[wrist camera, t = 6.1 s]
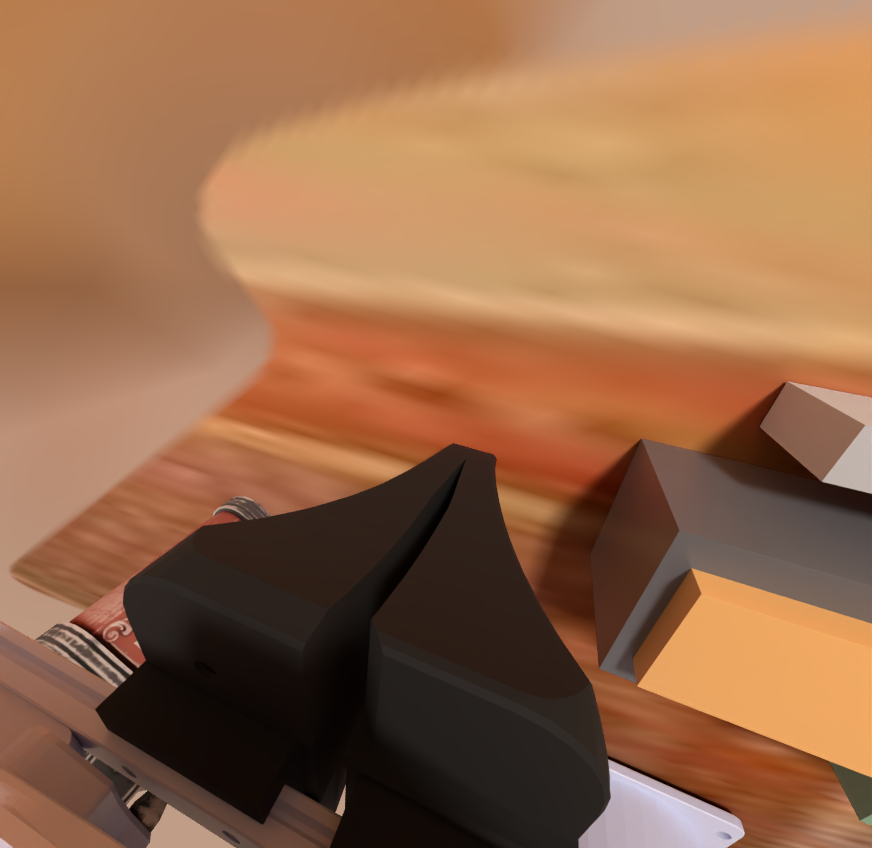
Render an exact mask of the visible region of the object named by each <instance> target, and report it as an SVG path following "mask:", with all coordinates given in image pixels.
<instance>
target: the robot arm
mask: <svg viewBox="0 0 872 848" xmlns="http://www.w3.org/2000/svg"><path fill="white" fill-rule="evenodd" d="M496 460H497V459H496V457H495V456H494V455H493V454H489V453H486V452H482V451H479V450H475V449H472V448H468V447H465V446H461V445H457V444H454V443H453V444H451V445H449V446H447V447H446V448H444V449H443V450H441V451H440V452H438V453H436V454H435V455H433V456H432V457H430V458H429V459H427V460H425V461H424V462H422V463H420V464H419V465H417V466H415V467H413V468H412V469H410V470H408V471H406V472H405V473H403V474H401V475H399V476H397V477H395V478H393V479H391V480H389V481H387V482H385V483H383V484H380V485H378V486H376V487H373V488H371V489H368V490H366V491H363V492H360V493H358V494H355V495H352V496H349V497H346V498H343V499H339V500H336V501H333V502H329V503H326V504H323V505H319V506H316V507H312V508H308V509H304V510H299V511H295V512H290V513H285V514H280V515H275V516H270V517H264V518H258V519H251V520H244V521H237V522H229V523H222V524H214V525H205V526H202V527H200V528H199V529H197V530H196V531H194V532H193V533H192V534H190V535H189V536H188V537H186V538H185V539H184V540H182V541H181V542H180V543H178V544H177V545H176V546H174V547H173V548H171V549H170V550H169V551H167V552H166V553H165V554H163V555H162V556H161V557H159V558H158V559H157V560H155V561H154V562H152V563H151V564H150V565H148V566H147V567H146V568H144V569H143V570H142V571H140V572H139V573H138V574H136V575H135V576H133V577H132V578H131V579H130V580H129V581H128V583H127V584H126V585H125V588H124V593H123V606H124V609H125V613H126V616H127V618H128V621H129V623H130V625H131V628H132V630H133V632H134V634H135V637H136V639H137V641H138V644H139V646H140V648H141V651H142V653H143V655H144V657H145V660H146V661H145V662H144V663H143V664H141V665H140V666H139V667H138V668H137V669H136V670H135V671H134V672H133V673H132V674H131V675H130V676H129V677H128V678H127V679H126V680H125V681H124V682H123V683H122V684H121V685H120V686H119V687H115V686H113V685H111V684H110V683H108V682H106V681H104V680H103V679H101V678H99V677H97V676H96V675H94V674H92V673H90V672H89V671H87V670H85V669H83V668H82V667H80V666H78V665H76V664H75V663H73V662H71V661H69V660H68V659H66V658H64V657H62V656H61V655H59V654H57V653H55V652H54V651H52V650H50V649H48V648H47V647H45V646H43V645H41V644H40V643H38V642H36V641H35V640H33V639H31V638H29V637H27V636H26V635H24V634H22V633H21V632H19V631H17V630H15V629H14V628H12V627H10V626H8V625H6V624H5V623H3V622H1V621H0V848H146V847H147V845H148V844H149V843H150V836H151V833H150V832H149V831H148V830H147V829H146V828H145V827H144V826H143V825H142V824H141V822H140V821H139V820H138V819H137V818H136V817H135V816H134V815H133V814H132V813H131V811H130V810H129V809H128V807H127V806H126V804H125V803H124V802H123V800H122V799H121V798H120V796H119V794H118V792H117V789H116V787H115V785H114V783H113V782H112V781H111V780H110V779H109V778H108V777H106V776H105V775H104V774H103V773H102V772H100V771H99V770H98V769H97V768H96V767H94V766H93V765H92V764H91V763H89V762H88V761H87V760H86V759H85V758H84V757H85V751H87V752H88V753H90V754H91V755H93V756H95V757H96V758H98V759H99V760H101V761H102V762H104V763H105V764H107V765H108V766H110V767H112V768H113V769H115V770H116V771H118V772H119V773H121V774H122V775H124V776H126V777H127V778H129V779H130V780H132V781H133V782H135V783H136V784H138V785H140V786H141V787H143V788H144V789H146V790H147V791H149V792H150V793H152V794H153V795H155V796H157V797H158V798H160V799H161V800H163V801H164V802H166V803H167V804H169V805H171V806H172V807H174V808H175V809H177V810H178V811H180V812H182V813H183V814H185V815H186V816H188V817H189V818H191V819H192V820H194V821H195V822H197V823H198V824H200V825H202V826H203V827H205V828H206V829H208V830H209V831H211V832H212V833H214V834H216V835H217V836H219V837H220V838H222V839H223V840H225V841H226V842H228V843H230V844H231V845H233V846H234V847H236V848H727V847H728V846H730V845H731V844H733V843H734V842H736V841H737V840H739V839H740V838H742V837H743V836H744V834H745V833H744V830H743V826H742V823H741V821H740V820H739V819H738V818H737V817H736V816H735V815H733V814H731V813H729V812H726V811H724V810H722V809H720V808H717V807H715V806H713V805H711V804H708V803H706V802H704V801H702V800H699V799H697V798H695V797H692V796H690V795H688V794H686V793H683V792H681V791H679V790H677V789H674V788H672V787H670V786H668V785H665V784H663V783H661V782H659V781H656V780H654V779H652V778H650V777H647V776H645V775H643V774H641V773H638V772H636V771H634V770H632V769H629V768H627V767H625V766H623V765H620V764H618V763H616V762H614V761H611V760H609V759H608V756H607V750H606V745H605V739H604V734H603V729H602V724H601V719H600V715H599V711H598V706H597V702H596V698H595V694H594V691H593V687H592V684H591V682H590V681H589V679H588V678H587V677H586V675H585V674H584V672H583V671H582V669H581V668H580V666H579V665H578V664H577V662H576V661H575V659H574V658H573V656H572V655H571V653H570V652H569V651H568V649H567V648H566V646H565V645H564V643H563V642H562V640H561V639H560V637H559V636H558V634H557V632H556V631H555V629H554V627H553V626H552V624H551V622H550V621H549V619H548V617H547V616H546V614H545V612H544V611H543V609H542V607H541V605H540V603H539V601H538V599H537V597H536V595H535V594H534V592H533V590H532V588H531V586H530V584H529V582H528V580H527V578H526V576H525V574H524V572H523V570H522V568H521V565H520V563H519V561H518V558H517V556H516V554H515V551H514V549H513V546H512V543H511V541H510V538H509V535H508V532H507V529H506V526H505V523H504V519H503V515H502V512H501V507H500V503H499V498H498V492H497V486H496V477H495V465H496ZM345 785H346V795H345V811H344V813H343V816H340V815H338V814H336V813H335V812H336V809H337V807H338V804H339V801H340V798H341V795H342V793H343V790H344V787H345Z"/></svg>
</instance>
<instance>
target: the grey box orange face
mask: <svg viewBox="0 0 872 848" xmlns="http://www.w3.org/2000/svg"><path fill="white" fill-rule="evenodd" d="M590 561H591V573H592V586H593V599H594V612H595V624H596V637H597V650H598V663H599V669H601V670H604V671H606V672H609V673H611V674H614V675H617V676H619V677H622V678H624V679H627V680H629V681H632V682H635V683H637V686H638V687H640V688H643V689H645V690H648V691H651V692H653V693H656V694H658V695H661V696H663V697H666V698H669V699H671V700H674V701H676V702H679V703H681V704H684V705H687V706H689V707H692V708H694V709H697V710H699V711H702V712H705V713H707V714H710V715H712V716H715V717H717V718H720V719H722V720H725V721H728V722H730V723H733V724H735V725H738V726H740V727H743V728H746V729H748V730H751V731H753V732H756V733H758V734H761V735H764V736H766V737H769V738H771V739H774V740H776V741H779V742H782V743H784V744H787V745H789V746H792V747H794V748H797V749H800V750H802V751H805V752H807V753H810V754H812V755H815V756H818V757H820V758H823V759H825V760H828V761H830V762H833V763H836V764H838V765H841V766H843V767H846V768H848V769H851V770H854V771H856V772H859V773H861V774H864V775H866V776H869V777H872V494H871V493H867V492H862V491H858V490H854V489H850V488H846V487H842V486H838V485H834V484H829V483H825V482H822V481H818V480H814V479H810V478H805V477H801V476H797V475H793V474H789V473H784V472H780V471H776V470H772V469H768V468H763V467H759V466H755V465H751V464H747V463H742V462H738V461H734V460H730V459H726V458H721V457H717V456H713V455H709V454H705V453H701V452H696V451H692V450H688V449H684V448H680V447H675V446H671V445H667V444H663V443H659V442H654V441H650V440H646V439H641V441H640V443H639V445H638V448H637V450H636V452H635V454H634V457H633V459H632V461H631V463H630V466H629V468H628V470H627V472H626V475H625V477H624V479H623V481H622V484H621V486H620V488H619V490H618V493H617V495H616V497H615V499H614V501H613V504H612V506H611V508H610V510H609V513H608V515H607V517H606V519H605V522H604V524H603V526H602V528H601V531H600V533H599V535H598V537H597V540H596V542H595V544H594V546H593V549H592V551H591V553H590Z"/></svg>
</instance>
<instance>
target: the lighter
mask: <svg viewBox="0 0 872 848" xmlns="http://www.w3.org/2000/svg"><path fill="white" fill-rule="evenodd" d="M264 517H270V515H269V514H268V513H267V512H266V511H265V510H264V509H263V508H262V507H261V506H260V505H259V504H258V503H257V502H255V501H254V500H252V499H250V498H248V497H244V496H236V497H233V498H231V499H230V500H229V501H227V502H226V503H224V504H223V505H222V506H220V507H219V508H218V509H217V510H215V511H214V513H213V517H212V518H210V519H209V520H208V521H206V522H205V523H204V524H202V525H201V526H199V527H198V528H197V529H199V528H200V527H202V526H205V525H214V524H222V523H229V522H237V521H244V520H251V519H258V518H264ZM197 529H195V530H194V531H196V530H197ZM194 531H193V532H194ZM193 532H191V533H190V534H192V533H193ZM190 534H189V535H190ZM189 535H187V536H186V537H188V536H189ZM186 537H184V538H183V539H182V540H184V539H185V538H186ZM182 540H180V541H179V542H178V543H180V542H181V541H182ZM178 543H176V544H175V545H174V546H176V545H177V544H178ZM174 546H172V547H171V548H173V547H174ZM171 548H169V549H168V550H167V551H169V550H170V549H171ZM167 551H165V552H164V553H163V554H165V553H166V552H167ZM163 554H161V555H160V556H159V557H161V556H162V555H163ZM159 557H157V558H156V559H154V560H153V561H152V562H154V561H155V560H157V559H158V558H159ZM152 562H150V563H149V564H148V565H150V564H151V563H152ZM148 565H146V566H145V567H144V568H146V567H147V566H148ZM144 568H142V569H141V570H139V571H138V572H137V573H135V574H134V575H133V576H135V575H136V574H138V573H139V572H140V571H142V570H143V569H144ZM133 576H131V577H130V578H129V579H127V580H126V581H124V582H123V583H122V584H120V585H119V586H118V587H116V588H115V589H114V590H112V591H111V592H109V593H108V594H107V595H105V596H104V597H103V598H101V599H100V600H99V601H97V602H96V603H94V604H93V605H92V606H90V607H89V608H88V609H86V610H85V611H84V612H82V613H81V614H80V615H78V616H77V617H75V618H74V619H73V620H71V621H70V622H59V623H58V624H56V625H55V626H54V627H52V628H51V629H49V630H48V631H47V632H45V633H44V634H42V635H41V636H40V637H38V638H37V639H36V640H35V641H36V642H38V643H40V644H41V645H43V646H45V647H47V648H48V649H50V650H52V651H54V652H55V653H57V654H59V655H61V656H62V657H64V658H66V659H68V660H69V661H71V662H73V663H75V664H76V665H78V666H80V667H82V668H83V669H85V670H87V671H89V672H90V673H92V674H94V675H96V676H97V677H99V678H101V679H103V680H104V681H106V682H108V683H110V684H111V685H113V686H115V687H119V686H120V685H121V684H122V683H123V682H124V681H125V680H126V679H127V678H128V677H129V676H130V675H131V674H132V673H133V672H134V671H135V670H136V669H137V668H138V667H139V666H140V665H141V664H143V663H144V662H145V661H146V660H145V657H144V655H143V653H142V651H141V648H140V646H139V644H138V641H137V639H136V637H135V634H134V632H133V630H132V628H131V625H130V623H129V621H128V618H127V616H126V613H125V609H124V606H123V593H124V588H125V585H126V584H127V583H128V581H129V580H130V579H131V578H132V577H133ZM84 758H85V759H86V760H87V761H88V762H89V763H91V764H92V765H93V766H94V767H96V768H97V769H98V770H99V771H100V772H102V773H103V774H104V775H105V776H106V777H108V778H109V779H110V780H111V781H112V782H113V783H114V785H115V787H116V789H117V792H118V794H119V796H120V798H121V799H122V800H123V802H124V803H125V804H126V805H127V803H128V802H129V801H130V800H131V799H132V798H133V797H134V795H135V794H136V793H137V792H139V791H143V790H146V789H144V788H143V787H141V786H140V785H138V784H136V783H135V782H133V781H132V780H130V779H129V778H127V777H126V776H124V775H122V774H121V773H119V772H118V771H116V770H115V769H113V768H112V767H110V766H108V765H107V764H105V763H104V762H102V761H101V760H99V759H98V758H96V757H95V756H93V755H91V754H90V753H88V752H87V751H85V757H84ZM166 805H167V803H166V802H164V801H163V800H161V799H160V798H158V797H157V796H155V795H153V794H152V793H150V792H149V791H147V792H146V793H145V794H143V795H142V796H141V797H140V798H139V799H137V800H136V801H135V802H134V803H133V805H132V806H131V807H130V808H129V810H130V811H131V813H132V814H133V815H134V816H135V817H136V818H137V819H138V820H139V821H140V822H141V824H142V825H143V826H144V827H145V828H146V829H147V830H148V831H149V832H150V833H151V831H152V830H153V829H154V827H155V826H156V824H157V823H158V822H159V820H160V818H161V816H162V814H163V811H164V809H165V807H166Z"/></svg>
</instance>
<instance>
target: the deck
mask: <svg viewBox="0 0 872 848" xmlns="http://www.w3.org/2000/svg"><path fill="white" fill-rule="evenodd" d="M759 427H760V428H761V429H762V430H764V431H765V432H766V433H767V434H768V435H769V436H770V437H772V438H773V439H774V440H775V441H776V442H777V443H778V444H779V445H781V446H782V447H783V448H784V449H785V450H786V451H787V452H789V453H790V454H791V455H792V456H793V457H794V458H795V459H797V460H798V461H799V462H800V463H801V464H802V465H803V466H805V467H806V468H807V469H808V470H809V471H810V472H811V473H812V474H814V475H815V476H816V477H817V478H818V479H819V480H820V481H822V482H825V483H829V484H834V485H838V486H842V487H846V488H850V489H854V490H858V491H862V492H867V493H871V494H872V398H871V397H866V396H861V395H856V394H850V393H845V392H840V391H835V390H829V389H824V388H819V387H814V386H809V385H803V384H798V383H793V382H788V381H787V383H786V384H785V386H784V388H783V389H782V391H781V393H780V394H779V396H778V397H777V399H776V401H775V402H774V404H773V405H772V407H771V409H770V410H769V412H768V414H767V415H766V417H765V418H764V420H763V422H762V423H761V425H760V426H759ZM829 762H830V761H829ZM830 764H831V766H832V768H833V770H834V772H835V774H836V776H837V778H838V780H839V782H840V784H841V785H842V787H843V789H844V791H845V793H846V795H847V797H848V799H849V801H850V803H851V805H852V807H853V808H854V810H855V812H856V814H857V816H858V818H859V820H860V821H862V822H864V823H866V824H869V825H871V826H872V777H869V776H866V775H864V774H861V773H859V772H856V771H854V770H851V769H848V768H846V767H843V766H841V765H838V764H836V763H833V762H830Z"/></svg>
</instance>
